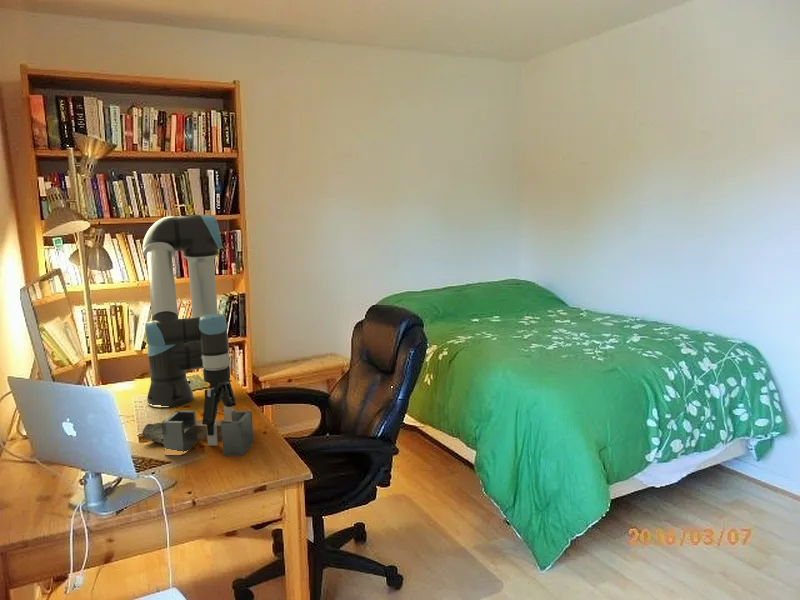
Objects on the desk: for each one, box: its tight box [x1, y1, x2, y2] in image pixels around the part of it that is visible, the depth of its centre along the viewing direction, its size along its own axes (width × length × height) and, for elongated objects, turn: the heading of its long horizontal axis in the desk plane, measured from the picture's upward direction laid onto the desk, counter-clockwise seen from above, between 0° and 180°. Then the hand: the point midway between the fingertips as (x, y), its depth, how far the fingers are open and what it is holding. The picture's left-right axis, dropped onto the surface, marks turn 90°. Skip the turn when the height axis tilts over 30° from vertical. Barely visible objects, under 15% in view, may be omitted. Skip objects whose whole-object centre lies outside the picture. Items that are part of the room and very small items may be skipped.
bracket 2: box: [221, 410, 255, 457], centre depth 171 cm, size 9×6×10 cm, turn 176°
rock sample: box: [140, 421, 164, 445], centre depth 179 cm, size 10×8×9 cm
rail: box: [196, 419, 254, 440], centre depth 181 cm, size 18×4×4 cm, turn 86°
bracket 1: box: [161, 410, 199, 452], centre depth 173 cm, size 9×6×10 cm, turn 176°
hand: (221, 436), depth 181 cm, fingers open, 13 cm apart
